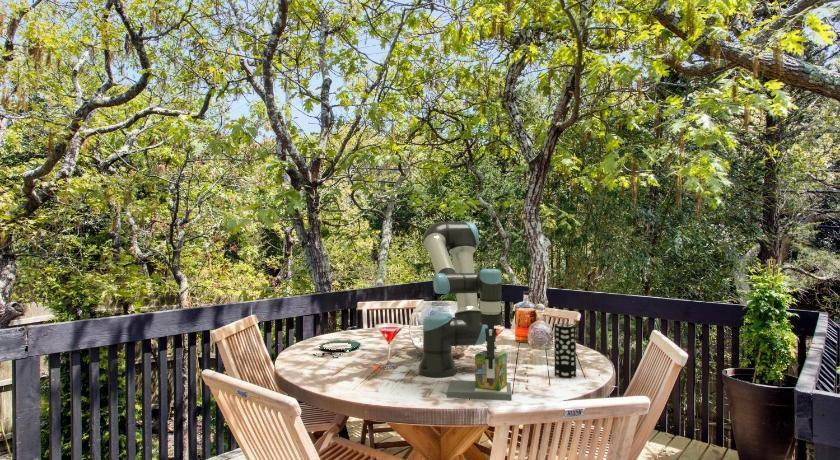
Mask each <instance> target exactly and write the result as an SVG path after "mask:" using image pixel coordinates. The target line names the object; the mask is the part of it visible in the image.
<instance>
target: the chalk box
mask: <svg viewBox="0 0 840 460" xmlns="http://www.w3.org/2000/svg"><path fill="white" fill-rule="evenodd" d="M485 347H486V349H487V344H486V345H485ZM507 355H508V354H507V353H506V352H499V351H495V352H494V356H495V358H494V359H495V378H487V359H485V357H486V356H487V350H482V351H479V352H478V353H477V354H475V355H474V372H475V374H474V376H475V378H474V381H475V387H476V388H483V389H491V390H498V391H499V390H500V389H502V388H503V387H504V386H506V385H507V382H508V367H507V365H508V361H507V358H508V357H507Z"/></svg>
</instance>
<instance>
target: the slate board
mask: <svg viewBox="0 0 840 460" xmlns="http://www.w3.org/2000/svg"><path fill="white" fill-rule="evenodd" d="M511 385H512V384H511V382H510V381H507V385H506V386H504V387H503V388H502V389H500V390H499V391H498V390H491V389H483V388H476V387H475V380H462V379H461V380H460V379H459V380H458V379H450V381H449V384H448V387H447V390H446V398H452V397H458V398H457V399H475V400H498V401H512V397H513V396H512V386H511Z"/></svg>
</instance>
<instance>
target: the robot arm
mask: <svg viewBox="0 0 840 460" xmlns="http://www.w3.org/2000/svg"><path fill="white" fill-rule="evenodd" d="M478 230H479V229H478V227H477V226H476V224H475V223H474V222H472V221H465V220H464V221H463V220H462V221H439V222H435V223H433V224H431V225H430V226H429V227H427V229H426V230H425V231H424V234H423V236H422V244H423V247H424V249H425V250H426V251H427V252H428V255H429V257H430V260H431V264H432V267H433V269H434V272H435V274H434V276H433V281H432V286H433V291H434V292H435V294H437V295H438V294H439V295H440V294H444V295H452V294H455V296H456V303H457V305H456V306H457V310H456V311H455V312H454V317H453V316H452V314H450V313H436V314H432V315H428V316H426V317H425V318H424V320H423V324H422V336H423V337H422V342H423V345H422V346H423V347H422V350H423V351H422V352H423V353H422V357H421V360H420V363H419V368H418V372H419V374H420V375H421V374H422V376H424V377H430V378H447V377H451V376H454V375H456V373H457V366H456V363H455V360H454V356H453V351H452V350H453V349H452V347H463V346H465V347H467V346H469V347H470V346H473V347H475V346H480V345H484V344H485V342H486V345H487V348H486V351H487V356H486V357H485V359H487V378H495V359H494V358H495V356H494V352H496V350H497V346H495V345H496V344H495V343H496V341H497V339H496V338H497V337H496V336H497V328H495V326H499V325H501V324H502V314H501V313H502V307H503V306H504V304H503V303H502V281H503V279H502V271H501V270H500V269H497V268H486V269H485V268H484V269H481V270H480V271H477V272H475V267H474V254H475V252H476V248H478V247H479V245H480V240H479V239H480V237H479V231H478ZM450 255H451V256H452V257H453V258H452V259H453V260H452V259H451V256H450ZM452 261H453V262H452ZM478 294H479V304H478Z"/></svg>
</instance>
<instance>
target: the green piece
mask: <svg viewBox="0 0 840 460" xmlns="http://www.w3.org/2000/svg"><path fill="white" fill-rule="evenodd" d="M329 343H348V344H351V346H352V347H351V348H345V349H342V350H344V351H342V350H341V349H336V350H331V349H330V350H331V351H330V352H345V351H347V350H350V351H351V350H354V349H357V348H359V347H360V346H361V345H362V344H361V342H359V341H356V340H354V341H353V340H352V341H351V340H331V341H327V342H325V343H322V344H320V345H319V346H318V348H319V347H320V348H321V349H324V347H323V345H325V344H329ZM354 347H355V348H354ZM320 348H319V349H320ZM321 349H320V350H321ZM327 350H329V349H326V348H325V350H324V351H327ZM341 354H342V353H340V354H339V355H341Z"/></svg>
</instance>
